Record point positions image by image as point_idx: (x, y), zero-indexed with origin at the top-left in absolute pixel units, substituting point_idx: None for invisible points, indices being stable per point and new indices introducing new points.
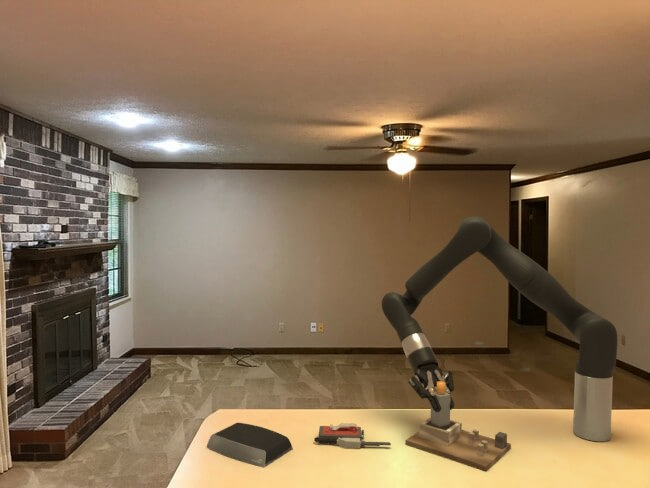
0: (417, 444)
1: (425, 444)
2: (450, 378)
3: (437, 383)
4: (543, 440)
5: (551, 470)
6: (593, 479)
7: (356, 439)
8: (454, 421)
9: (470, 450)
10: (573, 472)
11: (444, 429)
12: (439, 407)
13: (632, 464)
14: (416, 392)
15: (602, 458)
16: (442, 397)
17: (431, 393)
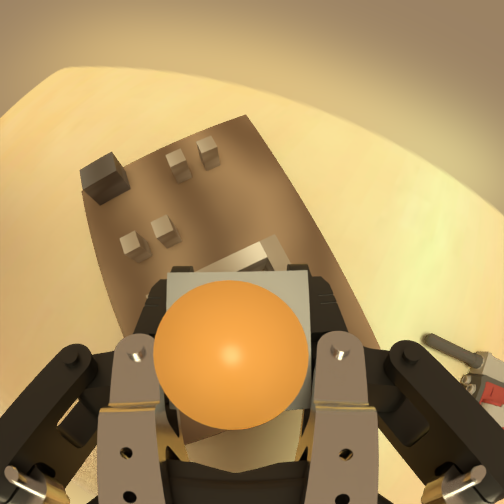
0: (359, 306)
1: (337, 292)
2: (12, 435)
3: (306, 361)
4: (12, 208)
5: (116, 98)
6: (96, 73)
7: (490, 366)
8: None
9: (217, 193)
10: (95, 90)
11: None
12: (303, 266)
13: (20, 105)
14: (424, 428)
15: (22, 124)
16: (270, 272)
17: (353, 350)
